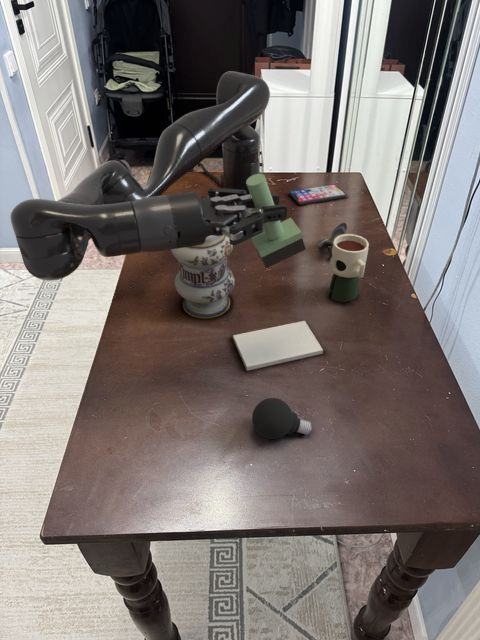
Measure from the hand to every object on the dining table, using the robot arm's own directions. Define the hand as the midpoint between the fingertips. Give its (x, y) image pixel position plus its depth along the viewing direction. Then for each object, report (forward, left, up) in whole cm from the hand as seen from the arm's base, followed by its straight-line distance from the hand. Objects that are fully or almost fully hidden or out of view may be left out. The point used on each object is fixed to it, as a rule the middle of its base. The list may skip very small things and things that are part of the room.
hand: (281, 206), depth 74 cm
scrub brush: (0, 0, -8) cm, 8 cm away
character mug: (0, +23, -29) cm, 37 cm away
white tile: (0, +1, -29) cm, 29 cm away
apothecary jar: (-19, +1, -29) cm, 35 cm away
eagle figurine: (-12, +36, -29) cm, 47 cm away
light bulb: (+13, -14, -29) cm, 35 cm away
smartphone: (-32, +57, -29) cm, 71 cm away
